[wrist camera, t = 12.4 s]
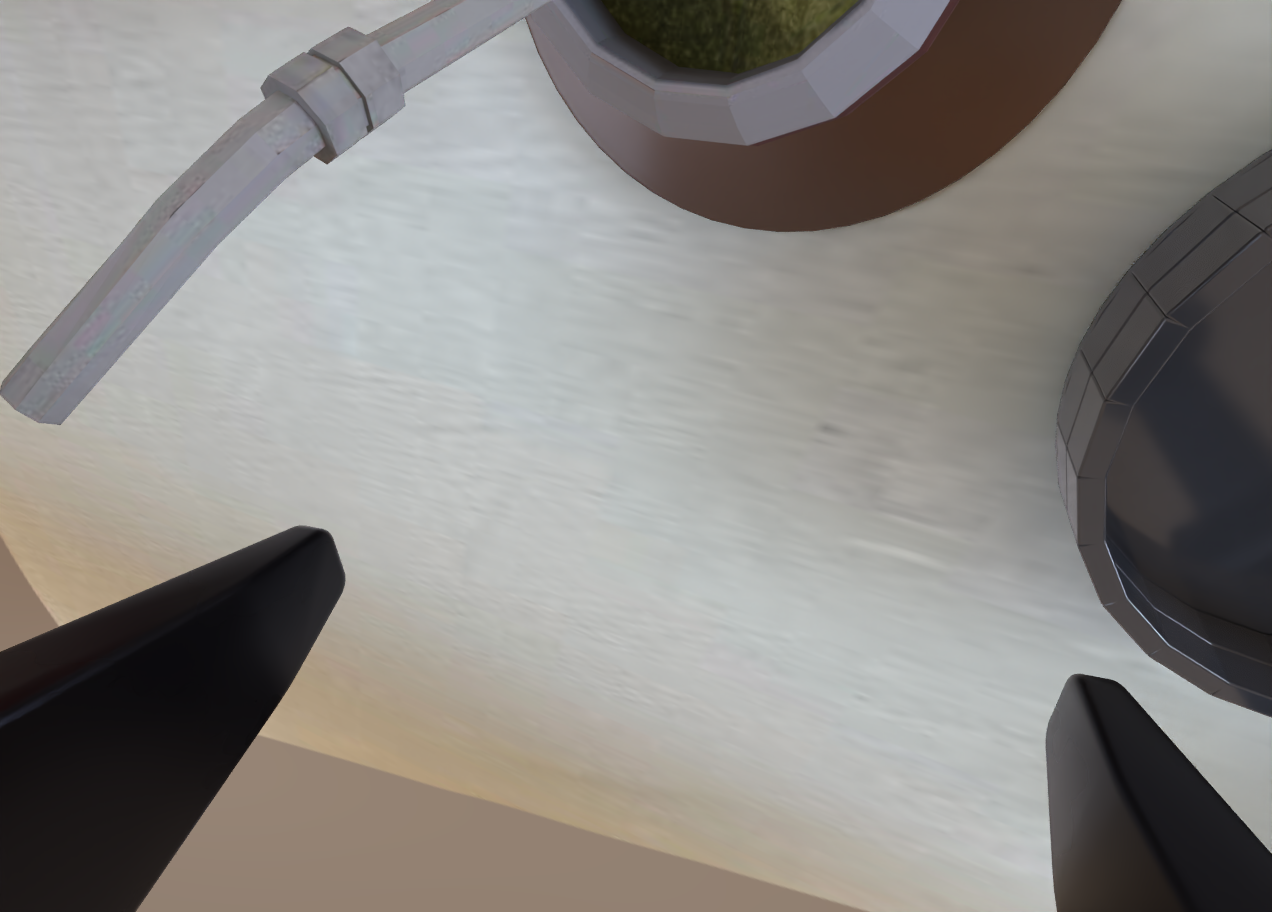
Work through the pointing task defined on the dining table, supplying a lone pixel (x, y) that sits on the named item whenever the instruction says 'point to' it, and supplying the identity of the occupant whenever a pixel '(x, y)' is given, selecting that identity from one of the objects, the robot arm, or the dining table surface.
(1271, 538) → the pan
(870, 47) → the mate gourd
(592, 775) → the dining table surface
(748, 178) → the disc
